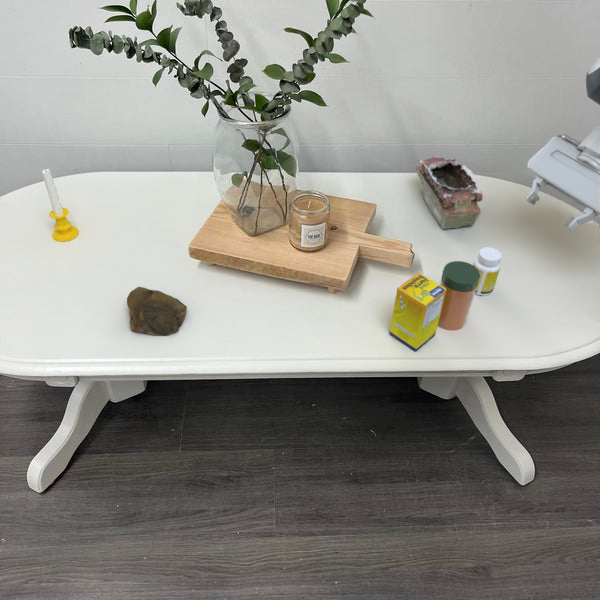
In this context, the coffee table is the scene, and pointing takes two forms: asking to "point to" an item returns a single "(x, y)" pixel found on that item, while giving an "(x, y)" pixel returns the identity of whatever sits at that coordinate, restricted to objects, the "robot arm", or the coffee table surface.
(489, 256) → the supplement bottle
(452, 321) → the jar
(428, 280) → the supplement box
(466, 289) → the lid
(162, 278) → the coffee table surface
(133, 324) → the decorative stone
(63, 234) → the candle
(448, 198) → the decorative box
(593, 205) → the robot arm
